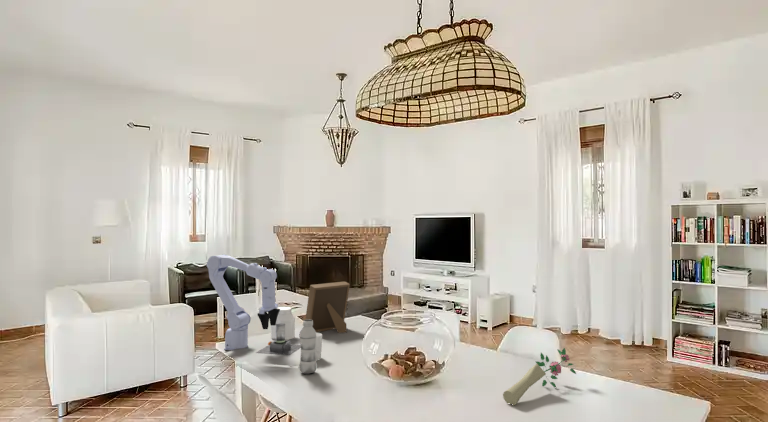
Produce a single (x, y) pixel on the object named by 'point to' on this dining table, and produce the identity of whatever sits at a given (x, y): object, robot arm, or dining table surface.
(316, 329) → the photo frame
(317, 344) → the white cup
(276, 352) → the stand base
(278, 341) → the silver metal canister
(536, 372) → the flower vase
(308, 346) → the plastic bottle
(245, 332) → the robot arm
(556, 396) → the dining table surface
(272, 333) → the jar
